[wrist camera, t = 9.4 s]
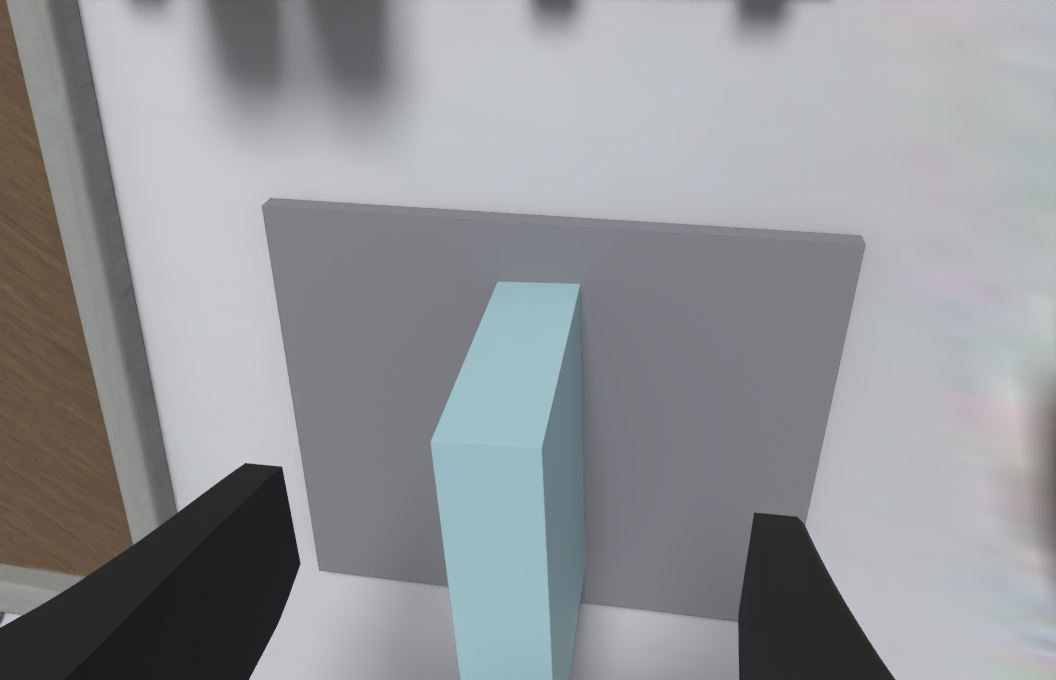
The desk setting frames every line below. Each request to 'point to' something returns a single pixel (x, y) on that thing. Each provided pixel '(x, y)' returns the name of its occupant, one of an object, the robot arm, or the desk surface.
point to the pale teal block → (515, 486)
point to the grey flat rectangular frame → (65, 326)
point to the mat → (607, 381)
